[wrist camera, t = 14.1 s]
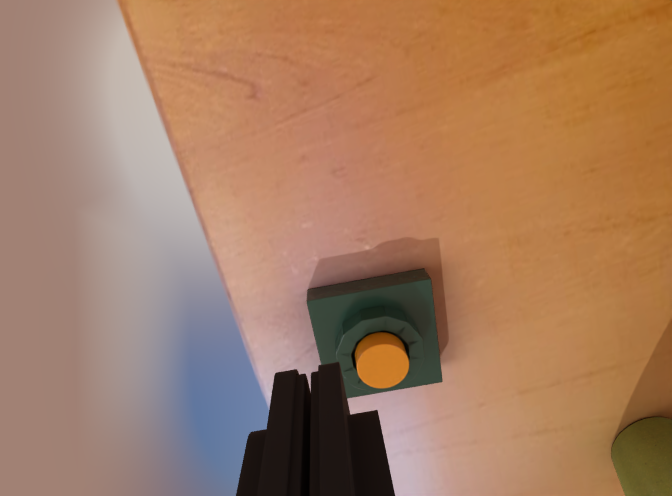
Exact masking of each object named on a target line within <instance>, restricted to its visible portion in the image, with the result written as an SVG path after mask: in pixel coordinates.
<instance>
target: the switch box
mask: <svg viewBox="0 0 672 496" xmlns="http://www.w3.org/2000/svg"><path fill="white" fill-rule="evenodd" d="M307 306H308V310H309V314H310V319H311V323H312V327H313V331H314V336H315V340H316V344H317V349H318V353H319V357H320V361H321V365H323V364H329V363H335V362H339V363H340V367H341V372H342V376H343V381H344V386H345V391H346V396H347V398H352V397H358V396H364V395H370V394H375V393H381V392H387V391H393V390H399V389H404V388H410V387H416V386H422V385H428V384H433V383H439V382H442V372H441V363H440V355H439V346H438V337H437V328H436V319H435V310H434V301H433V292H432V284H431V278H430V277H429V275H428V274H427V272H426V271H425V269H418V270H413V271H407V272H402V273H396V274H391V275H385V276H380V277H374V278H369V279H363V280H358V281H352V282H347V283H341V284H336V285H330V286H325V287H319V288H314V289H308V290H307ZM376 332H387V333H390V334H393V335H395V336H396V337H398V338H399V339H400V340H401V341H402V343H403V345H404V347H405V350H406V353H407V356H408V359H409V370H408V373H407V375H406V376H405V378H404V379H403V380H402V381H401V382H399V383H398V384H396V385H394V386H392V387H389V388H374V387H371V386H369V385H367V384H366V383H364V382H363V381H362V380H361V379H360V377H359V375H358V373H357V367H356V359H355V351H356V348H357V346H358V344H359V343H360V341H361V340H362V339H363V338H365V337H366V336H368V335H370V334H372V333H376Z"/></svg>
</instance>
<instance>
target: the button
mask: <svg viewBox="0 0 672 496" xmlns="http://www.w3.org/2000/svg"><path fill="white" fill-rule="evenodd" d="M355 359H356V367H357V373H358V375H359V377H360V379H361V380H362V381H363V382H364V383H366V384H367V385H369V386H371V387H374V388H389V387H392V386H394V385H396V384H398V383H399V382H401V381H402V380H403V379H404V378H405V376H406V375H407V373H408V370H409V359H408V356H407V353H406V350H405V347H404V345H403V343H402V341H401V340H400V339H399V338H398V337H396V336H395V335H393V334H390V333H387V332H376V333H372V334H370V335H368V336H366V337H365V338H363V339H362V340H361V341H360V343H359V344H358V346H357V348H356V351H355Z"/></svg>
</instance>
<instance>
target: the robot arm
mask: <svg viewBox="0 0 672 496" xmlns="http://www.w3.org/2000/svg"><path fill="white" fill-rule="evenodd" d="M236 496H395V493H394V488H393V484H392V479H391V474H390V469H389V464H388V459H387V454H386V449H385V444H384V440H383V435H382V430H381V425H380V420H379V415H378V411H377V410H375V411H369V412H363V413H357V414H352V415H350V411H349V406H348V401H347V396H346V391H345V386H344V381H343V376H342V372H341V367H340V363H339V362H335V363H329V364H323V365H319V367H318V371H317V372H312V373H311V392H310V388H309V384H308V380H307V376H306V374H300V375H299V373H298V371H297V370H296V369H295V370H289V371H284V372H278V373H275V376H274V383H273V390H272V396H271V403H270V410H269V417H268V423H267V429H266V430H260V431H254V432H251V433H250V434H249V436H248V439H247V444H246V449H245V454H244V460H243V464H242V469H241V474H240V478H239V484H238V489H237V494H236Z"/></svg>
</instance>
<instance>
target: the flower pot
mask: <svg viewBox="0 0 672 496" xmlns="http://www.w3.org/2000/svg"><path fill="white" fill-rule="evenodd" d="M611 457H612V460H613V464H614V467H615V470H616V472H617V475H618V478H619V480H620V483H621V486H622V488H623V491H624V494H625V496H672V420H671V419H669V418H664V417H651V418H647V419H643V420H640V421H638V422H635V423H633V424H632V425H630V426H628V427H627V428H626V429H624V430H623V431H622V432H621V433H620V434H619V436H618V437H617V438H616V440H615V441H614V443H613V446H612V450H611Z"/></svg>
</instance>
